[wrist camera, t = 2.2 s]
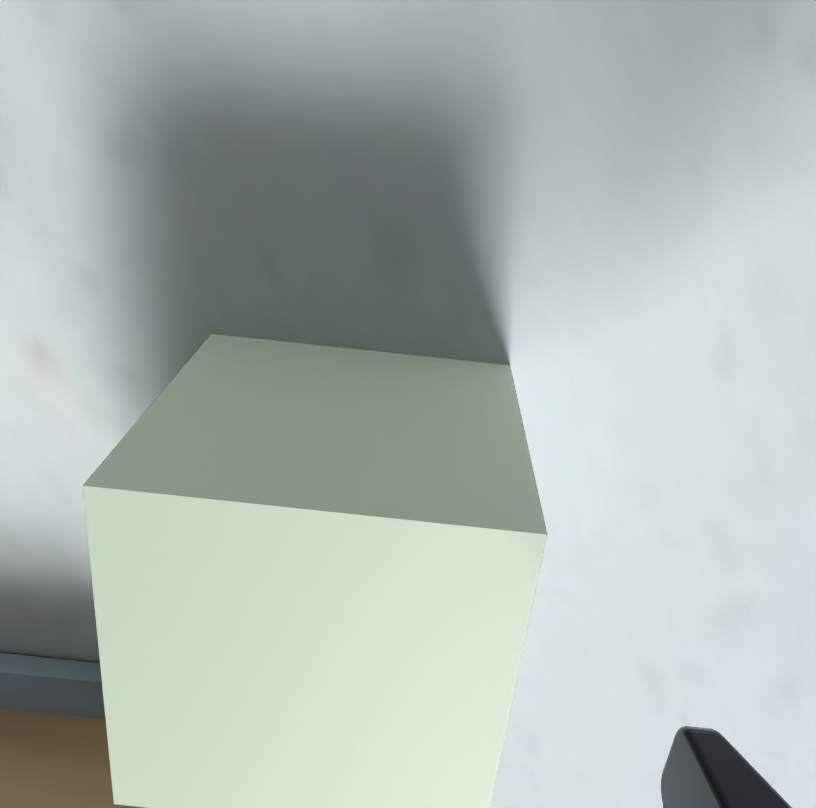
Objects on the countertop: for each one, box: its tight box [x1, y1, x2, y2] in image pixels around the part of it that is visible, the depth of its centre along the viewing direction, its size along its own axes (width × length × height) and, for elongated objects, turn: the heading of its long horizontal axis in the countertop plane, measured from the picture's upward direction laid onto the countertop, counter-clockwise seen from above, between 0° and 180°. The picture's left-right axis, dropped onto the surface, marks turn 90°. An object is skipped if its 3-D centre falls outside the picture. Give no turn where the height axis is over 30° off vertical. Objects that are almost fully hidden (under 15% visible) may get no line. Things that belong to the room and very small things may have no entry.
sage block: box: [83, 334, 547, 808], centre depth 11 cm, size 5×5×5 cm
